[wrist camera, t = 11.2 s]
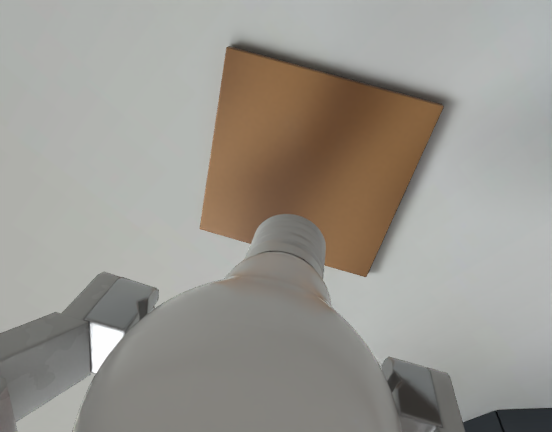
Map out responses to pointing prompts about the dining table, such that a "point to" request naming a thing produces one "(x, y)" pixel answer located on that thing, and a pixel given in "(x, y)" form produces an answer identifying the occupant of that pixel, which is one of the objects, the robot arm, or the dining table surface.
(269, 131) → the coaster
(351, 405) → the lightbulb
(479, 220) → the dining table surface
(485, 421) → the dark grey polygonal container
